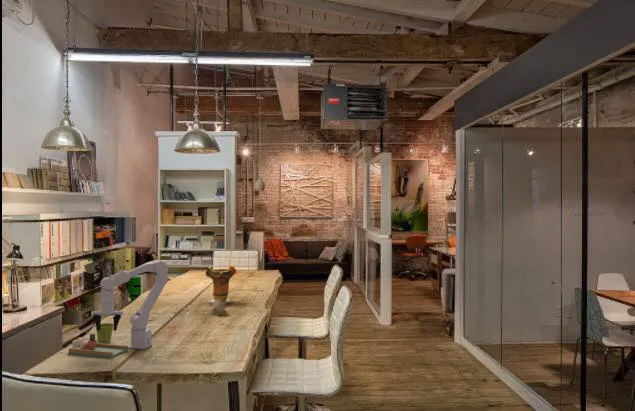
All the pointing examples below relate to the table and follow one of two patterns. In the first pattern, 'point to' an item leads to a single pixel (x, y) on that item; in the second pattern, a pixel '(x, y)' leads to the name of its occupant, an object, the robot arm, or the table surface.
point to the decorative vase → (220, 282)
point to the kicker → (91, 343)
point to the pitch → (101, 350)
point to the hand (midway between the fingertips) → (107, 330)
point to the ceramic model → (218, 308)
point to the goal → (78, 343)
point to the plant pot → (105, 332)
